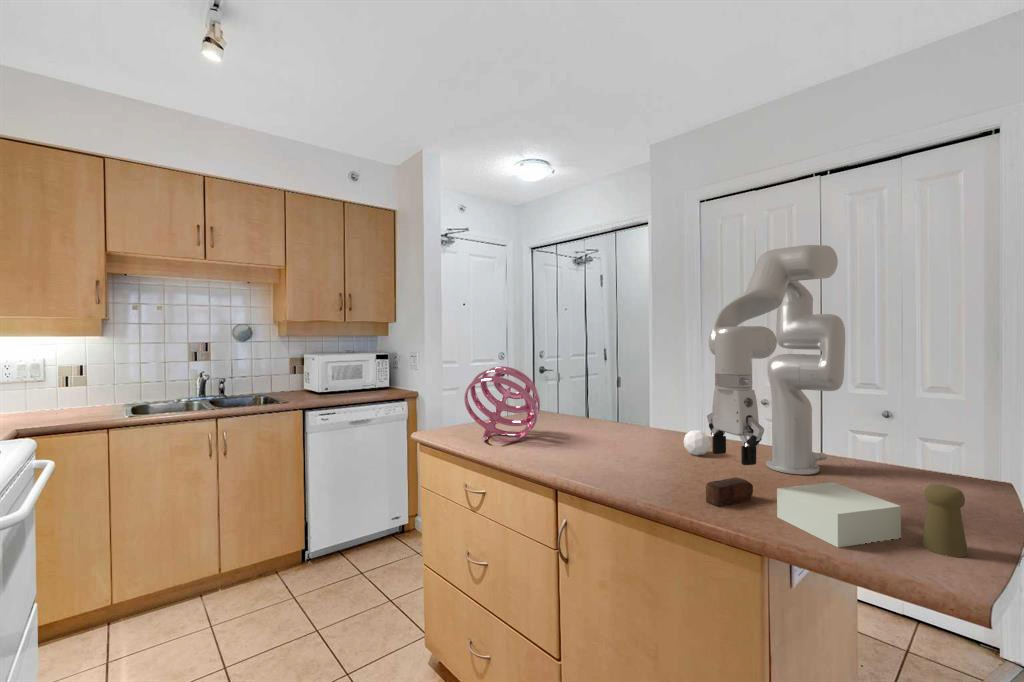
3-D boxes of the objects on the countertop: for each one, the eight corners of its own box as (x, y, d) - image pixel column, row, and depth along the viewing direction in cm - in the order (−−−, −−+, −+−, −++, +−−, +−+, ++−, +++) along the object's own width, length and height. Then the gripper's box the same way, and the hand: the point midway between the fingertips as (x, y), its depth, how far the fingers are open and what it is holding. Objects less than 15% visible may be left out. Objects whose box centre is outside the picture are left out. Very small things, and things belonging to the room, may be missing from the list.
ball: (702, 462, 146) (717, 441, 146) (697, 459, 139) (713, 437, 139) (681, 447, 150) (696, 427, 150) (676, 443, 144) (691, 422, 144)
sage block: (833, 510, 99) (833, 482, 99) (901, 538, 86) (900, 506, 85) (777, 517, 96) (776, 488, 96) (837, 547, 83) (837, 514, 82)
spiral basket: (500, 395, 147) (525, 344, 167) (436, 409, 162) (466, 361, 182) (541, 455, 158) (561, 400, 178) (478, 463, 173) (502, 412, 193)
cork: (911, 542, 84) (911, 481, 84) (942, 540, 85) (942, 480, 84) (945, 558, 78) (945, 493, 78) (978, 556, 78) (978, 491, 78)
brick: (720, 508, 102) (719, 487, 102) (705, 502, 105) (705, 482, 105) (753, 500, 106) (753, 480, 106) (738, 495, 110) (738, 475, 110)
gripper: (777, 385, 96) (777, 468, 96) (722, 378, 113) (722, 448, 113) (745, 386, 94) (746, 470, 95) (695, 379, 111) (695, 450, 111)
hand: (733, 458), depth 104 cm, fingers open, 9 cm apart
